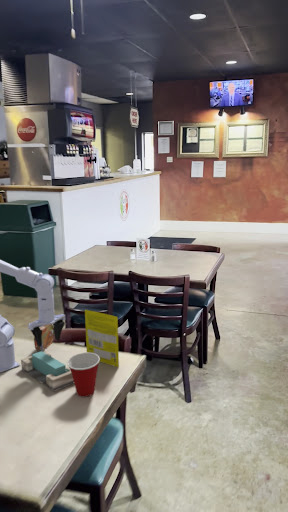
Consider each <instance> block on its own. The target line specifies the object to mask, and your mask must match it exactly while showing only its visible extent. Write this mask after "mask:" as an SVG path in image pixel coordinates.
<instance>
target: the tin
mask: <svg viewBox="0 0 288 512" xmlns="http://www.w3.org/2000/svg"><path fill="white" fill-rule="evenodd" d="M39 328H40V330H42V346H41V347H39V346H38V345H37V342H36V339H35V337H34V336H33V345H34V348H35V350H36V351H37V352H40V351H42V352H44V350H45V349H46V350H47V349H48V347H49V346H51V344H53V342H54V340H55V334H54V326H53V324H48V325H44V326H41V327H39ZM50 343H51V344H50ZM46 350H45V351H46Z"/></svg>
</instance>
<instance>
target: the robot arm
mask: <svg viewBox="0 0 288 512" xmlns="http://www.w3.org/2000/svg"><path fill="white" fill-rule="evenodd" d="M0 273H2V274H5V275H8V276H11V277H15V280H16V282H17V283H19V284H22V285H25V286H28V287H29V288H33V289H34V291H36V293H37V306H38V307H37V309H38V319H36V320H35V321H32V322H30V323H28V324H27V327H28V330H30V332H31V333H32V335H33V338H34V337H35V339H36V342H37V345H38V346H39V347H41V346H42V330H40V328H41V327H42V326H44V325H48V324H52V325H53V327H54V340H56V341H57V342H58V341H60V340H61V335H62V331H63V329H64V327H65V325H66V323H65V321H66V314H63V313H59V314H55V311H56V310H55V297H54V288H53V287H54V285H55V279H54V277H53V276H52V275H50V274H48V273H44V274H43V272H38V271H35V270H33V269H31V267H30V266H26V267H25V266H22V267H20V268H19V267H17V266H14V265H12V264H11V263H8V262H6V261H4V260H2V259H0ZM15 333H16V330H15V327H14V325H12V324H11V323H10V322H9V321H8V320H7V318H5V317H3V316H2V314H0V373H2V372H6V371H9V370H12V369H14V368H16V367H19V366H21V365H20V363H19V362H17V361H16V356H15V345H14V344H15V343H14V339H13V337H14V335H15Z"/></svg>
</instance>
